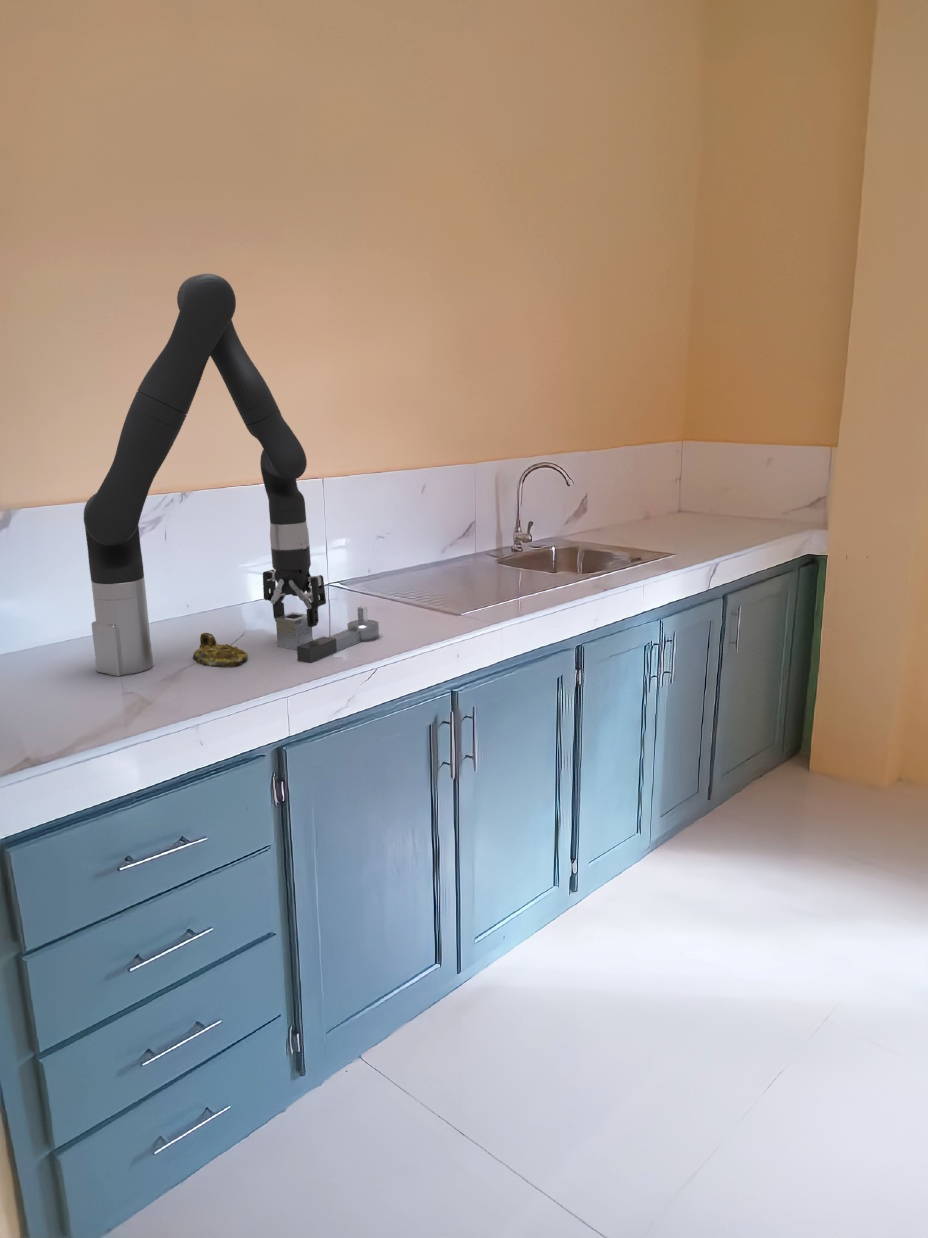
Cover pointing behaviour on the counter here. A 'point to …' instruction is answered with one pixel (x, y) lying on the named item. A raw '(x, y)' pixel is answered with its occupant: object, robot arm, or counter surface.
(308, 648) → the ratchet
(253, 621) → the counter surface
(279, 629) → the hollow square tube
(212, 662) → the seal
